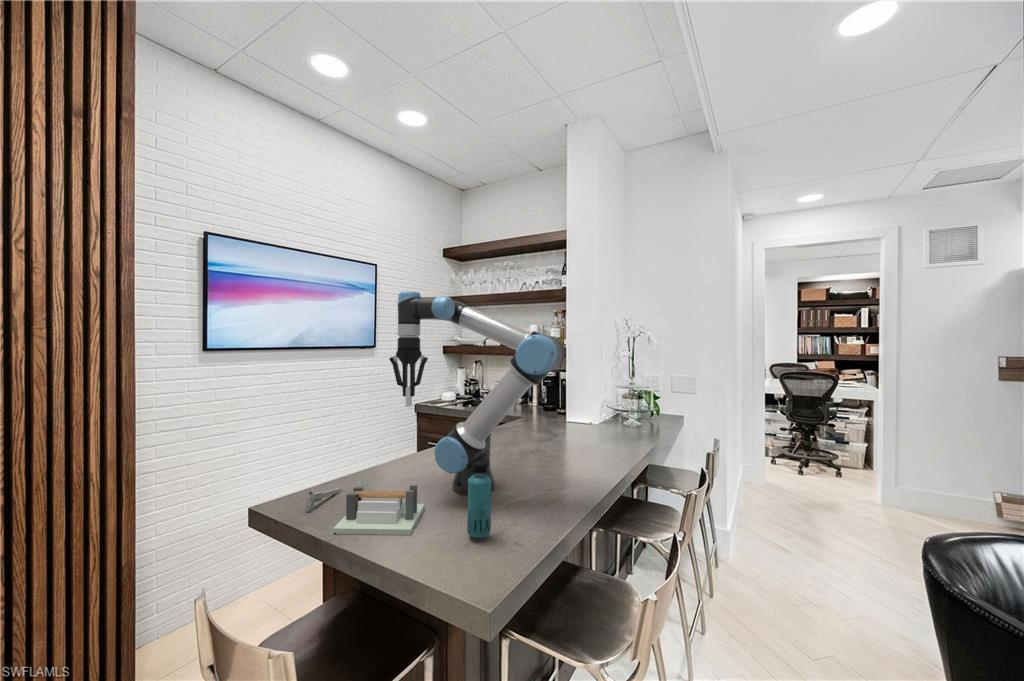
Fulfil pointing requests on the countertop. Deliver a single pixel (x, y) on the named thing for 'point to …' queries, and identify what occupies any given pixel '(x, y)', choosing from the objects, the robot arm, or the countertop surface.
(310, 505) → the caliper
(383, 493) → the bar
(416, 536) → the countertop surface
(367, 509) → the processor board
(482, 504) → the beverage bottle
